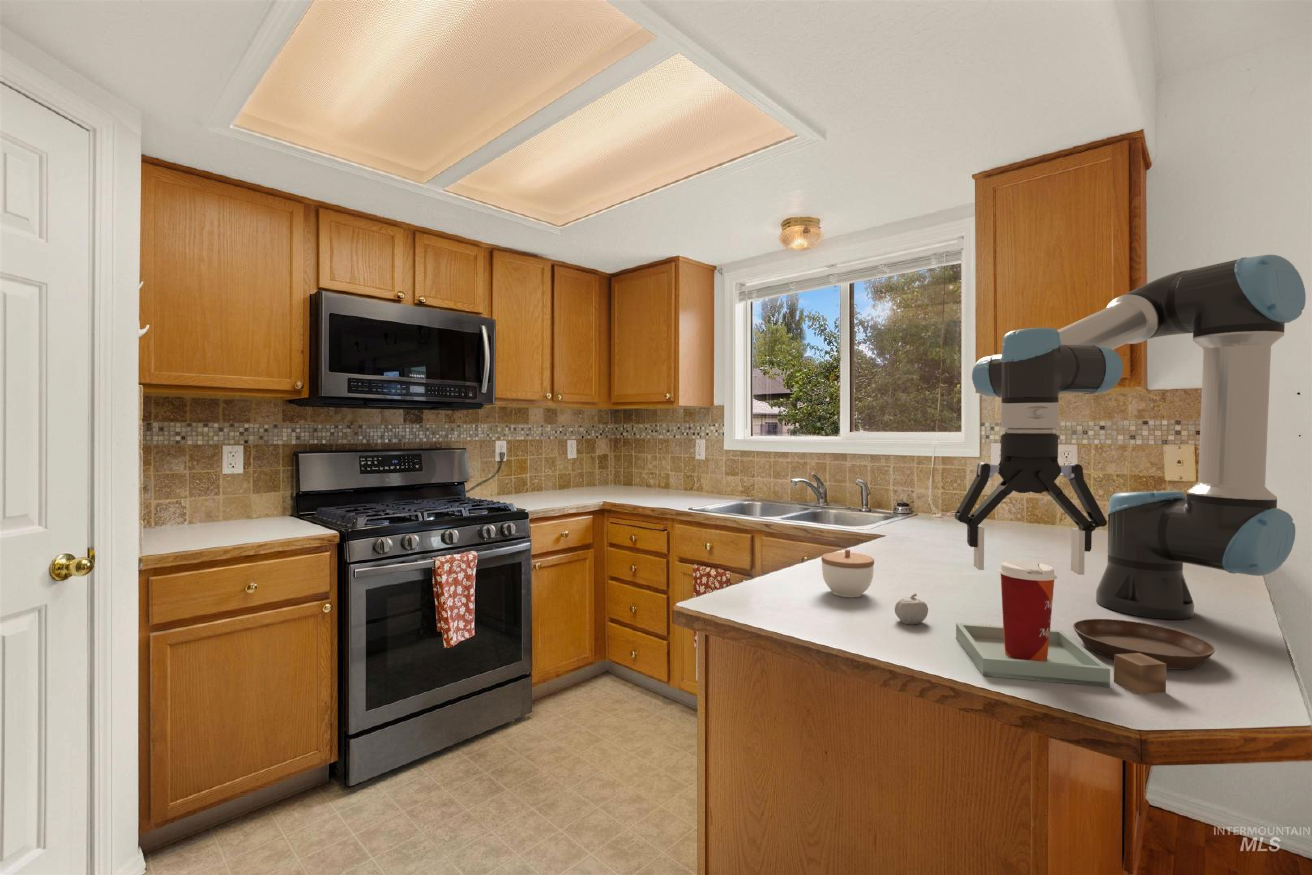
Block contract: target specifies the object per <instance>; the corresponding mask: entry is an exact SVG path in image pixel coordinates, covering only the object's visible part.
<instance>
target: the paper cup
mask: <svg viewBox="0 0 1312 875" xmlns="http://www.w3.org/2000/svg"><path fill="white" fill-rule="evenodd" d="M997 571H998V573H999V574H1000V586H1001V608H1002V627H1003V630H1004V646H1005V654H1006V655H1007V656H1009V657H1011V658H1013V659H1019V660H1031V661H1043V662H1045V661H1047V656H1048V647H1049V636H1050V630H1051V623H1052V610H1053V601H1054V600H1053V599H1054V598H1053V597H1054V587H1055V580H1057V578H1058V576H1057V575H1056V573H1055V569H1054V567H1052V566H1050V565H1047V564H1046V563H1040V562H1033V561H1027V560H1025V561H1024V560H1008V561H1007V560H1006V561H1002V563H1001V566H1000V568H999V569H998V570H997Z"/></svg>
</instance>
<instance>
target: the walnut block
mask: <svg viewBox="0 0 1312 875" xmlns="http://www.w3.org/2000/svg"><path fill="white" fill-rule="evenodd" d="M1113 682H1114V683H1116V684H1118V685H1119V686H1121V687H1124V688H1125V689H1127V690H1130V691H1132V692H1134V693H1136V694H1138V695H1149V694H1150V695H1151V694H1152V695H1153V694H1166V693H1167V692H1166V691H1167V669H1166V664H1165V663H1163V662H1160V661H1158V660H1156V659H1153V658H1151V657H1148V656H1146V655H1143V654H1141V653H1130V654H1114V659H1113Z"/></svg>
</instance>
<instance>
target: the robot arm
mask: <svg viewBox="0 0 1312 875" xmlns="http://www.w3.org/2000/svg"><path fill="white" fill-rule="evenodd" d="M1306 298H1307V297H1306V288H1305V285H1304V281H1303V279H1302V276H1301V274H1300V272H1299V271H1298V270H1297V268H1296V267H1295V265H1294V264H1293V263H1292V262H1290V261H1289V260H1288V259H1286V258H1285V257H1282V256H1280V255H1277V254H1263V255H1257V256H1250V257H1249V256H1248V257H1247V256H1246V257H1240V258H1238V259H1237V258H1236V259H1233V260H1230V261H1225V262H1224V261H1223V262H1219V263H1216V264H1211V265H1207V266H1202V267H1198V268H1192V269H1187V270H1181V271H1177V272H1176V271H1175V272H1173V273H1171V274H1168V275H1165V276H1162V277H1159V278H1156V279H1155V280H1154V279H1153V281H1149V282H1148V283H1145V284H1144V285H1141V286H1139V287H1137V288H1135V289H1133V290H1131V291H1128V292H1126V293H1124V294H1122V295H1119V296H1118V297H1115V298H1114V299H1112V300H1111V301H1110V302H1109V303H1108V304H1107V306H1106V307H1105V308H1103V309H1101V310H1099V311H1097V312H1095V313H1092V314H1090V315H1088V316H1086V317H1084V318H1082V319H1080V320H1077V321H1075V322H1073V323H1070V324H1068V325H1066V326H1064V327H1061V328H1060V329H1056V328H1052V327H1032V328H1023V329H1021V328H1020V329H1015V330H1011V331H1009V332H1007V333H1005V335H1004V336H1003V338H1002V346H1001V347H1002V348H1001V354H991V355H990V356H989V355H988V356H984V357H982V358H980V359H979V360H977V362H975V364H974V366H973V369H972V373H971V380H972V384H973V386H974V389H975V390H976V391H977V393H979V394H980V395H982V396H984V397H987V398H989V397H991V398H992V397H993V398H994V397H995V398H996V397H997V398H1001V405H1000V408H1001V409H1000V411H1001V412H1000V428H1001V429H1002V430H1004V433H1002V434H1001V435H1000V460H999V463H998V464H992V463H991V464H990V463H987V462H983V461H981V462H979V463H978V464H977V467H976V474H975V475H976V476H974V479H973V481H972V482H971V484H970V486H969V488H968V490H967V491H966V494H964V495H965V496H964V497H963V499H962V501H961V502H960V504H959V506H958V508H957V509H956V512H955V513H954V517H953V518H954V519H955V520H957V521H958V522H959V523H963V524H965V525H966V527H967V528H966V530H967V531H966V534H967V535H966V536H967V538H966V543H967V545H968V546H969V547H970V548H973V567H975V568H976V569H977V570H978V571H984V570H985V527H983V526H982V525H981V523H982V522H984V520H985V519H986V518H987V517H988V516H989V515H990V514H992V512H993V511H994V510H995V509H996V508H997V507H998V506H999V505H1000V504H1001V503H1002V501H1004V500H1005V498H1007V496H1009V495H1011V494H1012V493H1013V492H1015V493H1018V494H1027V493H1035V494H1043V493H1046V494H1048V496H1050V497H1051V499H1052V500H1053V501H1054V502H1055V503H1056V504H1057V505H1058V506H1059V507H1060V508H1061V510H1063V511H1064V512H1065V513H1066V515H1067V516H1068V517H1069V518H1070V519H1071V521H1073V523H1074V524H1075V525H1077V527H1071V529H1070V530H1071V531H1070V532H1071V533H1070V534H1071V535H1070V536H1071V537H1070V538H1071V540H1070V541H1071V544H1070V547H1071V548H1070V570H1071V572H1073V573H1075V574H1077V575H1082V576H1085V560H1086V558H1085V555H1086V554H1085V553H1086V552H1091V550H1092V546H1093V544H1092V541H1093V539H1092V535H1093V534H1092V533H1093V532H1094V531H1095V530H1096V529H1098V528H1100V527H1106V526H1107V563H1106V567H1105V570H1104V572H1103V573H1102V576H1101V579H1100V581H1099V583H1098V586H1097V588H1096V592H1095V601H1096V603H1097V604H1098V605H1100V606H1101V607H1104V608H1107V609H1109V610H1112V611H1115V612H1120V613H1123V614H1128V615H1132V616H1138V617H1145V618H1151V619H1152V618H1153V619H1162V620H1187V619H1191V618H1193V617H1194V615H1195V604H1194V601H1193V600H1194V599H1193V597H1192V595H1191V592H1190V589H1189V587H1188V585H1187V582H1186V578H1185V576H1184V571H1183V569H1184V564H1188V565H1194V566H1197V567H1198V566H1199V567H1205V568H1211V569H1216V570H1219V571H1225V572H1228V573H1229V574H1240V575H1241V574H1242V575H1246V576H1247V575H1248V576H1256V577H1260V576H1266V575H1269V574H1271V573H1274V572H1275V571H1276V570H1279V568H1280V567H1281V566H1282V565H1283V563H1285V562H1286V560H1287V559H1288V558H1289V556H1290V554H1291V552H1292V550H1293V546H1294V544H1295V540H1296V525H1295V524H1296V523H1294V519H1293V516H1291V515H1290V513H1289V512H1287V511H1285V510H1283V509H1280V508H1278V497H1277V496H1276V495H1275V494H1274V493H1273V492H1271V491H1270V490H1269V488H1267V487H1266V478H1267V476H1266V475H1267V472H1266V471H1267V452H1268V451H1267V450H1268V448H1267V447H1268V427H1269V424H1268V423H1269V404H1270V400H1269V399H1270V382H1271V381H1270V377H1271V356H1272V354H1271V353H1272V347H1273V345H1274V344H1275V343H1276V342H1278V341H1279V340H1280V339H1281V338H1283V337H1284V336H1285V325H1286V324H1289V323H1291V322H1293V321H1295V320H1297V319H1298V318H1300V317H1301V315H1302V314H1303V310H1305V306H1306V301H1307V300H1306ZM1183 334H1184V335H1185V334H1192V342H1193V343H1195V344H1197V345H1198V346H1199V347H1201V348H1202V351H1203V354H1202V356H1203V358H1202V378H1201V379H1202V380H1201V404H1200V407H1201V408H1200V425H1199V426H1200V429H1199V431H1200V432H1199V449H1198V450H1199V451H1198V452H1199V453H1198V478H1197V483H1196V484H1194V485H1193V486H1192V487H1190V488H1189V489H1188V490H1186V495H1185V492H1184V491H1181V490H1157V491H1131V492H1130V491H1128V492H1125V491H1124V492H1116V493H1114V494H1112V496H1110V497H1109V504H1108V511H1107V514H1106V515H1107V519H1106V517H1105V515H1104V514H1103V511H1102V510H1101V508H1100V506H1099V504H1098V502H1097V500H1096V499H1095V496H1094V495H1093V493H1092V492H1091V490H1090V488H1089V486H1088V484H1087V482H1086V480H1085V477H1084V469H1083V466H1082V464H1079V463H1073V462H1070V463H1067V464H1063V465H1062V464H1061V465H1060V463H1059V460H1058V459H1059V435H1058V434H1057V433H1054V430H1058V429H1059V408H1060V407H1059V404H1060V403H1059V400H1060V397H1059V396H1060V395H1069V394H1082V395H1094V394H1101V393H1106V392H1108V391H1110V390H1111V389H1113V388H1114V387H1115V386H1117V385H1118V384H1119V382H1120V381H1121V379H1122V377H1123V371H1124V365H1123V360H1122V358H1121V356H1120V355H1119V353H1117V351H1116V350H1115V349H1117V348H1120V347H1122V346H1124V345H1127V344H1128V345H1129V344H1131V345H1133V344H1134V345H1135V344H1140V343H1143V342H1145V341H1147V340H1150V339H1154V338H1159V337H1160V338H1161V337H1166V336H1173V335H1183ZM996 473H997V474H998V475H999V476H1000V477H1001V478H1002V479H1001V481H1000V482H999V483H998V485H996V487H995V489H994V490H992V492H991V493H990V494H989V495H988V496H987V497H986V498H985V499H984V500H983V501H982V502H981V503H980V504H979V505H978V507H977V508H976V509H975V510H974V511H973V509H974V507H975V506H976V503H977V502H978V500H979V498H980V496H981V494H982V492H983V491H984V489H985V488H986V486H987V484H988V482H989V479H991V478H993V477H994V476H995V474H996ZM1061 474H1062V475H1063V477H1064V478H1065V479H1068V482H1069V484H1070V485H1071V488H1072V490H1073V491H1074V493H1075V495H1076V498H1077V499H1078V500H1079V503H1080V504H1081V506H1082V508H1083V509H1084V512H1085V513H1086V515H1087V517H1086V515H1084V513H1083V512H1082V511H1081V510H1080V509H1079V507H1077V506H1076V505H1075V503H1074V502H1073V501H1072V500H1071V499H1070V498H1069V497H1068V496H1067V495H1066V494H1065V493H1064V491H1063V490H1062V489H1061V487H1060V486H1059V485H1058V484H1057V483H1056V482H1055V481H1056V480H1057V479H1058V478H1059V477H1060V475H1061ZM972 511H973V512H972ZM971 512H972V513H971Z"/></svg>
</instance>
